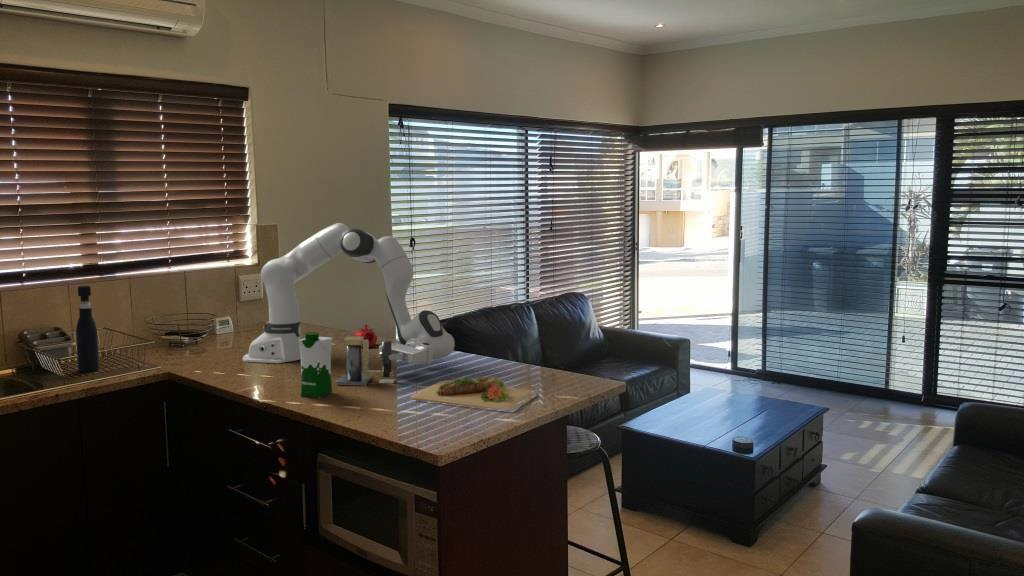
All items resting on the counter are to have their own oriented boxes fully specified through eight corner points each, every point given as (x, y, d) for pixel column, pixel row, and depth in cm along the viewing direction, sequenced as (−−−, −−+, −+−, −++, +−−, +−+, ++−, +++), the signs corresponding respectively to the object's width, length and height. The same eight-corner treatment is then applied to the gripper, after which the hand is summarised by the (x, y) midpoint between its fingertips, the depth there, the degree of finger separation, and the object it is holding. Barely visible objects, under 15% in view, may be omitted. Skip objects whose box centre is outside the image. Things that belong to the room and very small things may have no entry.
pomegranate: (349, 347, 310) (348, 325, 309) (360, 343, 319) (360, 322, 318) (370, 349, 307) (370, 327, 306) (381, 345, 316) (381, 323, 315)
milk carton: (296, 396, 235) (295, 333, 232) (313, 389, 243) (312, 329, 241) (320, 399, 232) (319, 335, 230) (336, 392, 240) (335, 330, 238)
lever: (344, 378, 251) (344, 339, 249) (347, 374, 256) (346, 336, 255) (391, 378, 251) (391, 339, 250) (393, 374, 257) (393, 336, 255)
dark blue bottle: (103, 369, 266) (98, 286, 262) (86, 373, 260) (81, 288, 257) (91, 367, 269) (86, 284, 265) (74, 371, 263) (69, 286, 259)
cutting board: (538, 396, 241) (539, 373, 240) (512, 416, 220) (512, 391, 219) (441, 385, 254) (441, 363, 253) (407, 402, 232) (407, 378, 231)
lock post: (336, 385, 249) (336, 347, 247) (347, 372, 267) (346, 336, 265) (392, 385, 249) (392, 347, 248) (398, 372, 268) (398, 337, 266)
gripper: (397, 337, 269) (366, 342, 259) (435, 346, 256) (403, 351, 246) (397, 354, 270) (366, 360, 260) (435, 364, 256) (403, 370, 246)
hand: (384, 356), depth 253 cm, fingers closed on lever, 3 cm apart
